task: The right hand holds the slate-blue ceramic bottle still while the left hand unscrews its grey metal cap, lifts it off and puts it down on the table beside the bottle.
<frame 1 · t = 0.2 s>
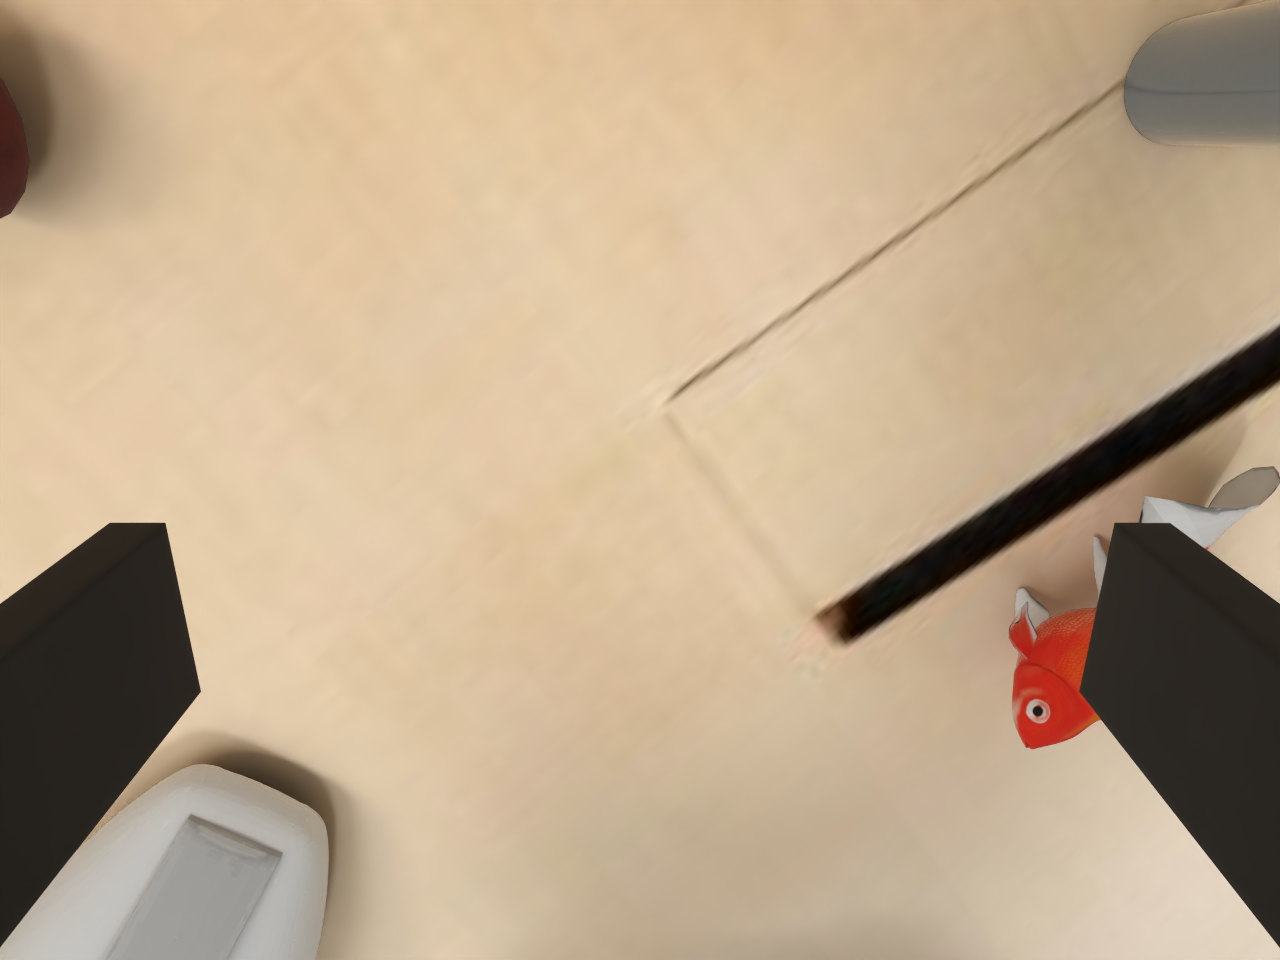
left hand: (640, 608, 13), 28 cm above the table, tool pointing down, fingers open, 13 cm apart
fish: (1099, 561, 44), on the table
projector: (194, 904, 52), on the table
bottle: (1183, 82, 36), on the table
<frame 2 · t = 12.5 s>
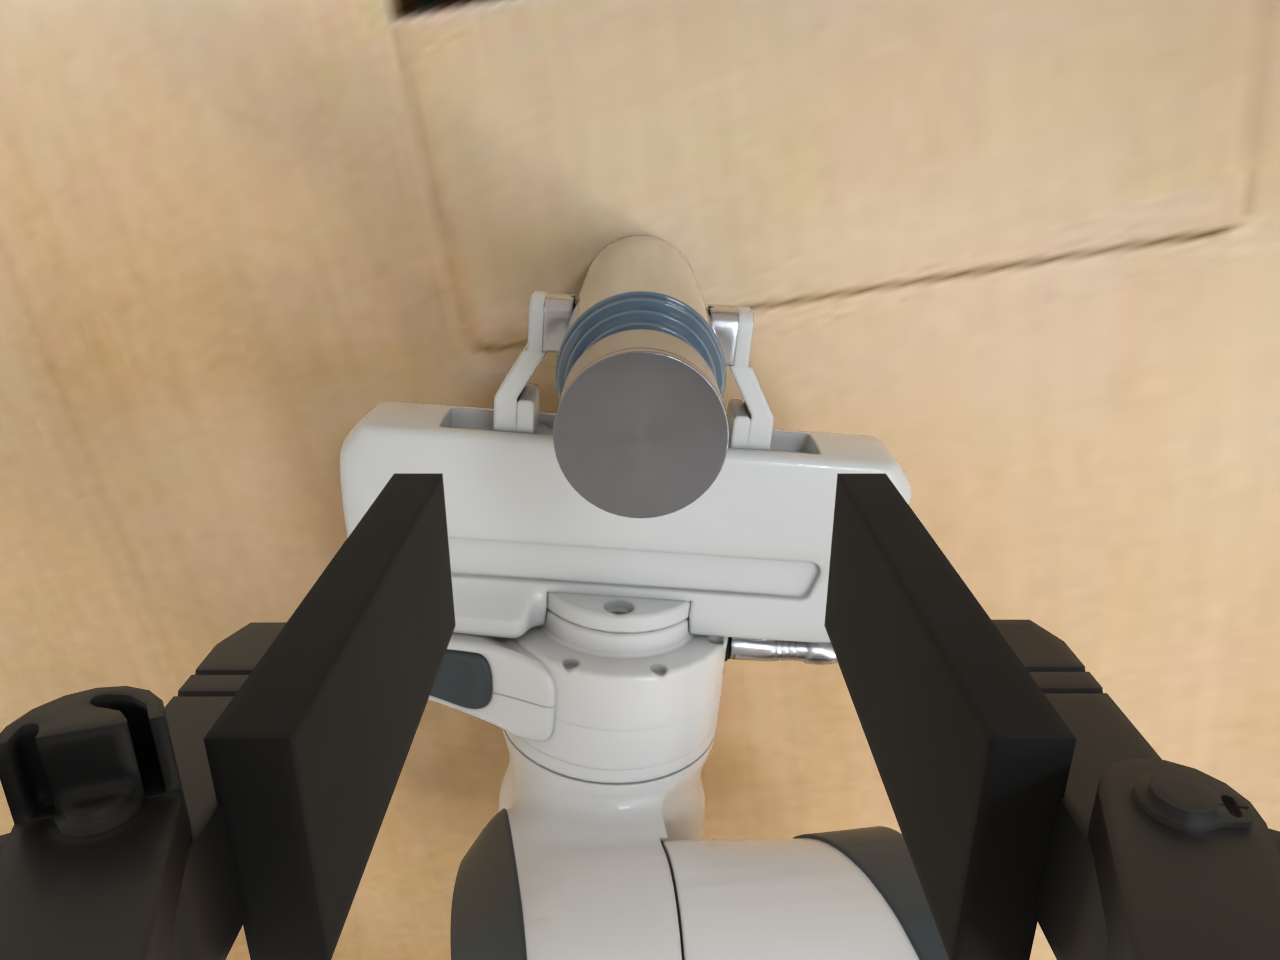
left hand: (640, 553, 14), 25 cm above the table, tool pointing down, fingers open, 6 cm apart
right hand: (641, 300, 31), fingers closed on bottle, 5 cm apart
cap: (641, 433, 20), point 19 cm above the table, screwed on, not yet turned
bottle: (640, 293, 37), on the table, touching right hand
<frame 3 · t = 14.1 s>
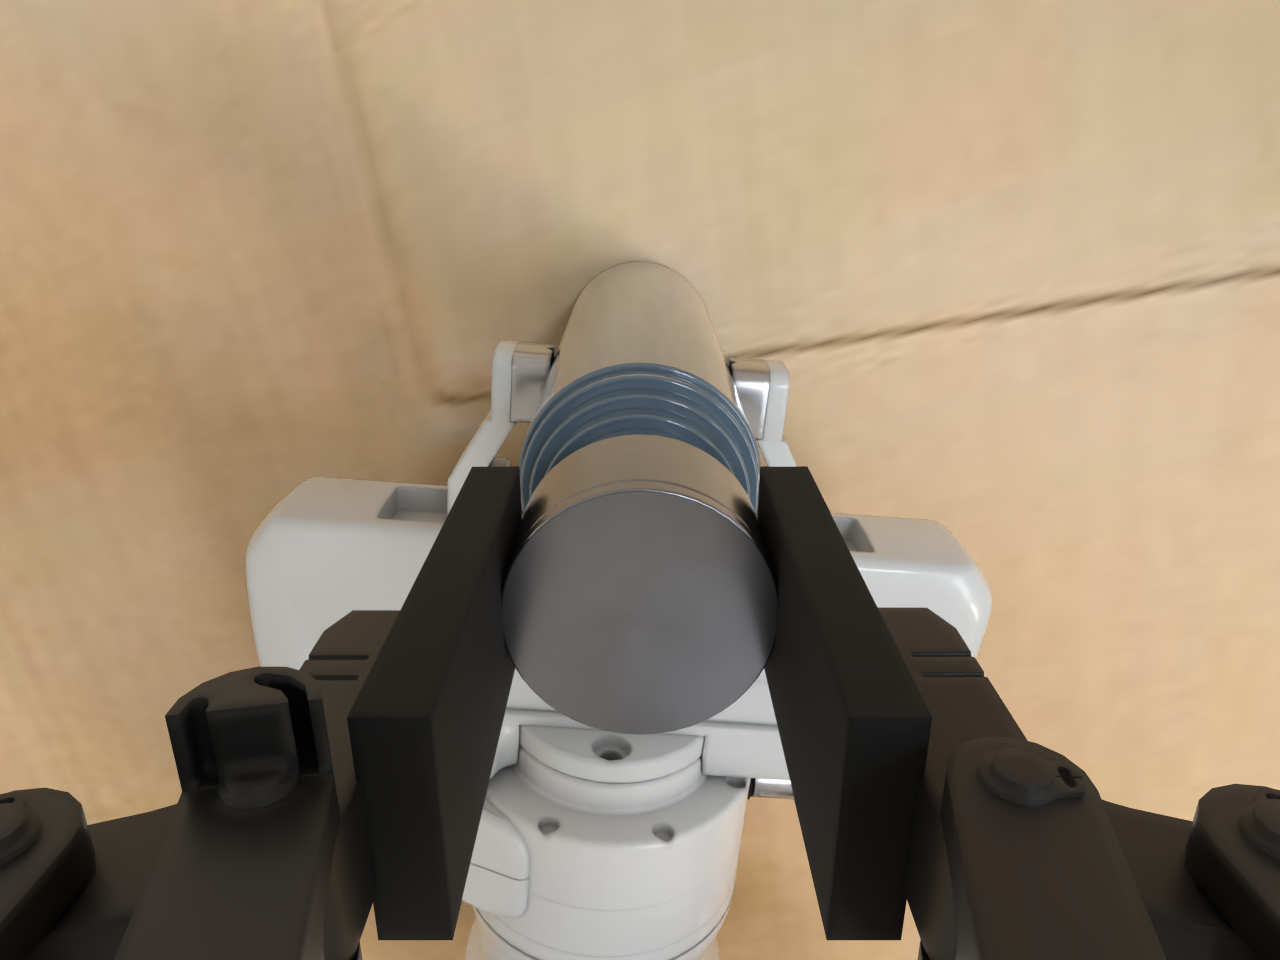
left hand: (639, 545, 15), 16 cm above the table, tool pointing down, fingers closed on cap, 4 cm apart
right hand: (640, 354, 23), fingers closed on bottle, 5 cm apart
cap: (639, 608, 13), point 19 cm above the table, screwed on, not yet turned, touching left hand
bottle: (639, 333, 30), on the table, touching right hand
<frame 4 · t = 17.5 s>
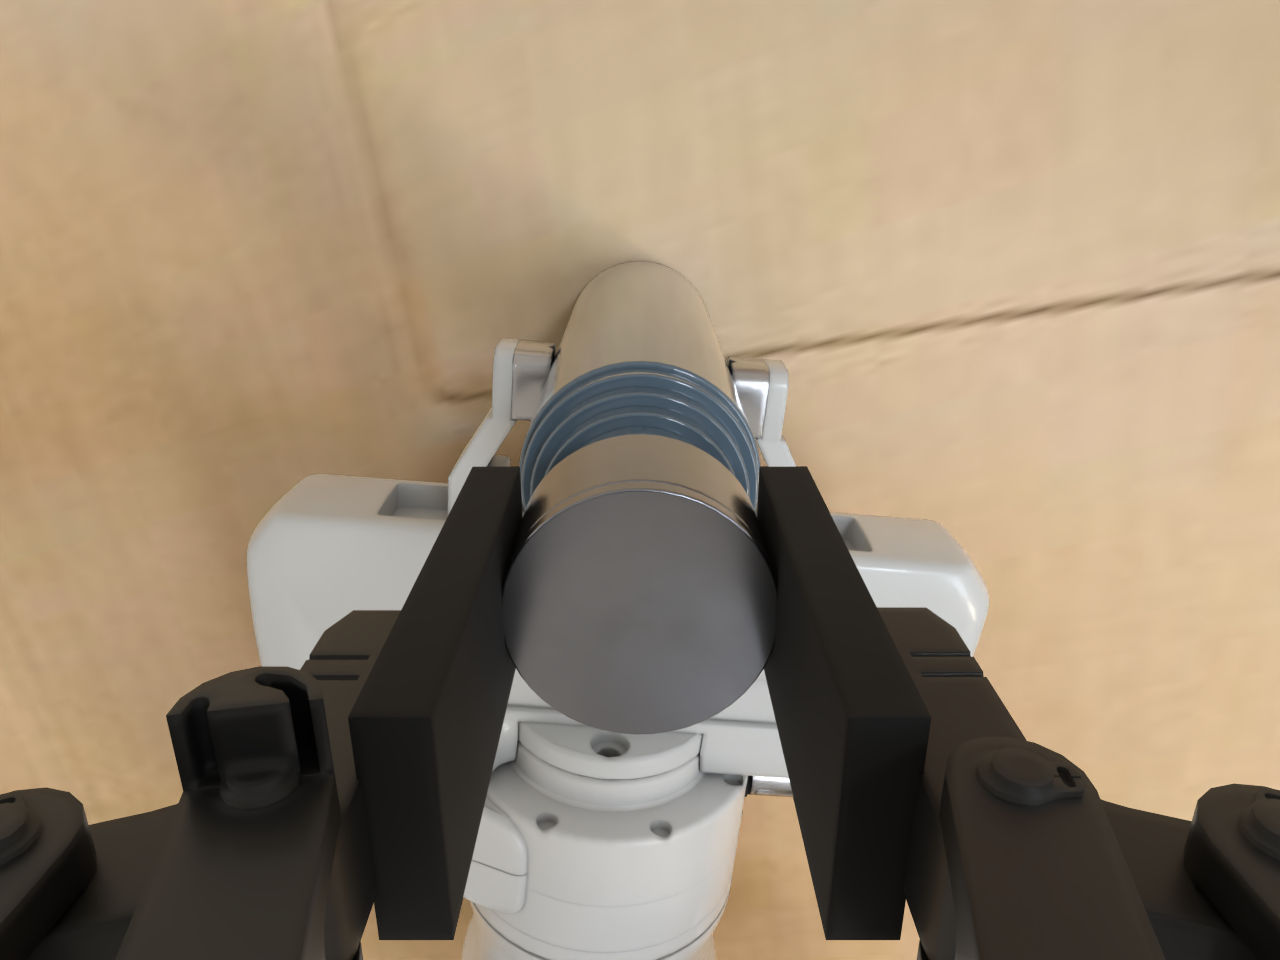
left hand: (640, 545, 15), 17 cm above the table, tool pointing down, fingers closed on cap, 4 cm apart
right hand: (640, 353, 23), fingers closed on bottle, 5 cm apart
cap: (639, 608, 13), point 19 cm above the table, turned 104° so far, risen 0.1 cm, still on its thread, touching left hand
bottle: (639, 332, 30), on the table, touching right hand
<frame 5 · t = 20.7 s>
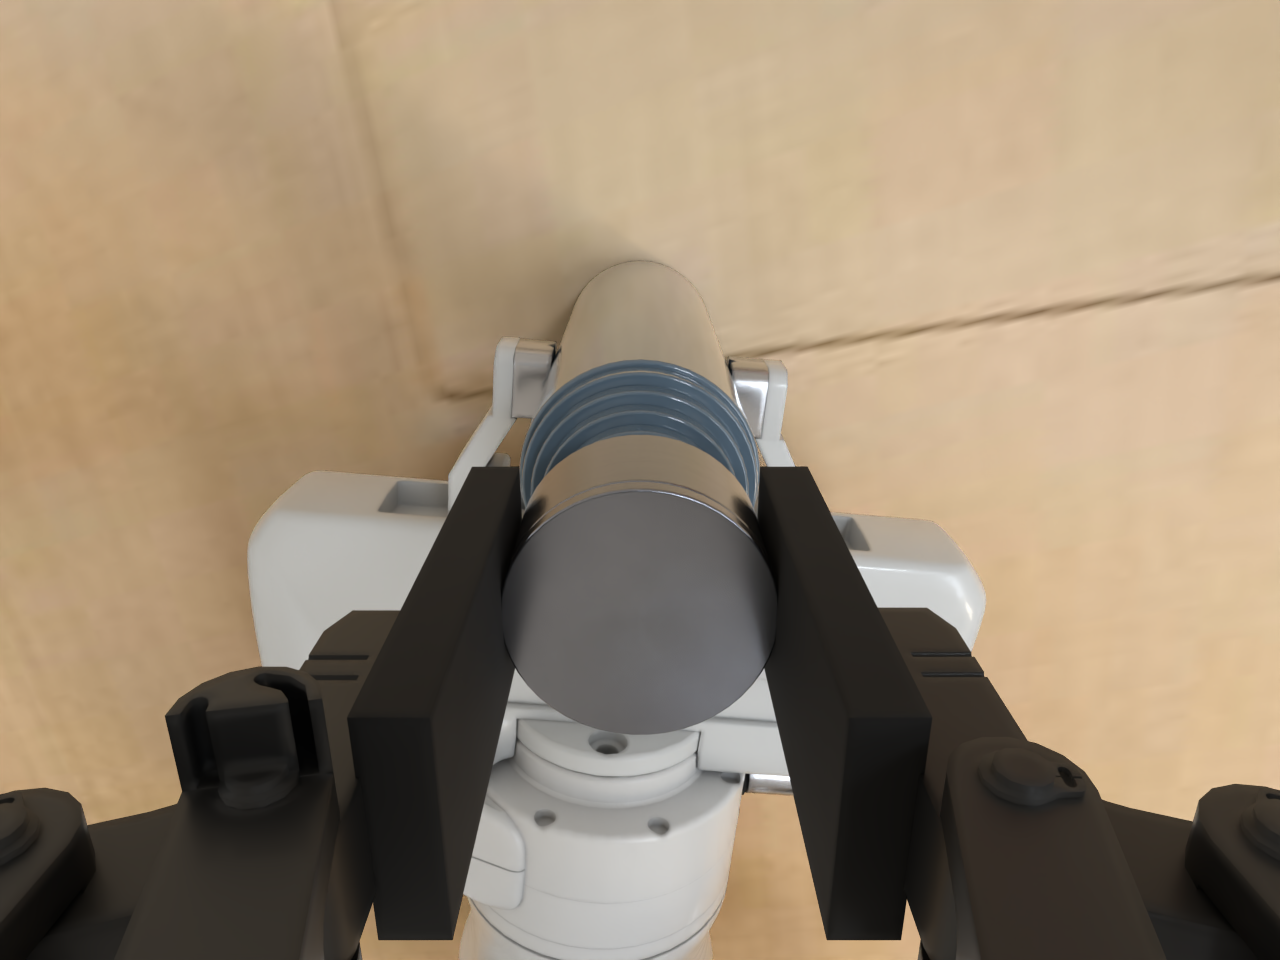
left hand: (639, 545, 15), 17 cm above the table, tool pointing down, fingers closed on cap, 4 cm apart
right hand: (641, 352, 23), fingers closed on bottle, 5 cm apart
cap: (639, 608, 13), point 19 cm above the table, turned 207° so far, risen 0.2 cm, still on its thread, touching left hand
bottle: (639, 331, 30), on the table, touching right hand
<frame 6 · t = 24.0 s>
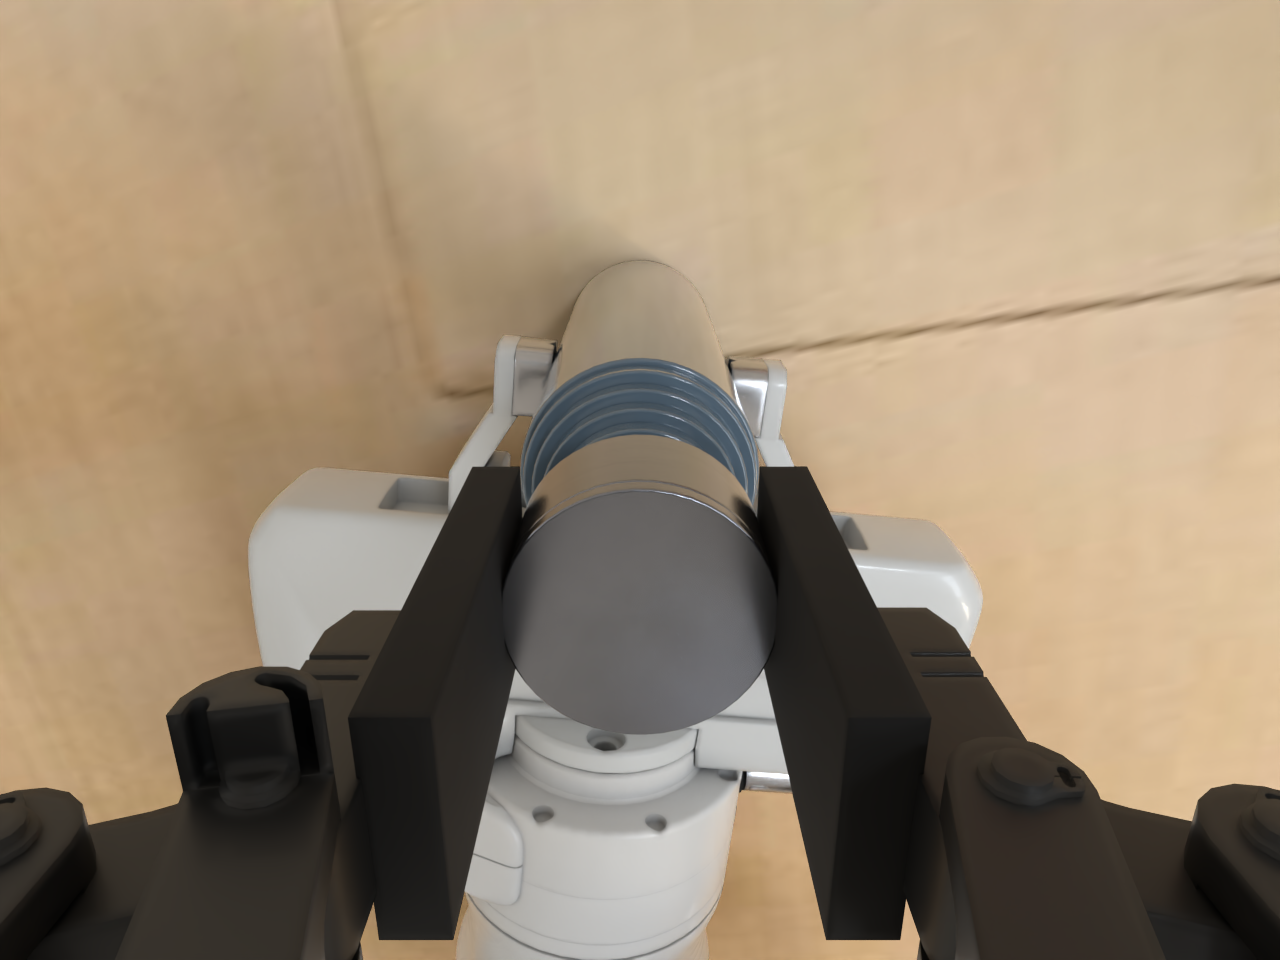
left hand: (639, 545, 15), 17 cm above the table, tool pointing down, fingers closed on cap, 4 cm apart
right hand: (641, 351, 24), fingers closed on bottle, 5 cm apart
cap: (639, 608, 13), point 19 cm above the table, turned 311° so far, risen 0.4 cm, still on its thread, touching left hand
bottle: (639, 330, 30), on the table, touching right hand
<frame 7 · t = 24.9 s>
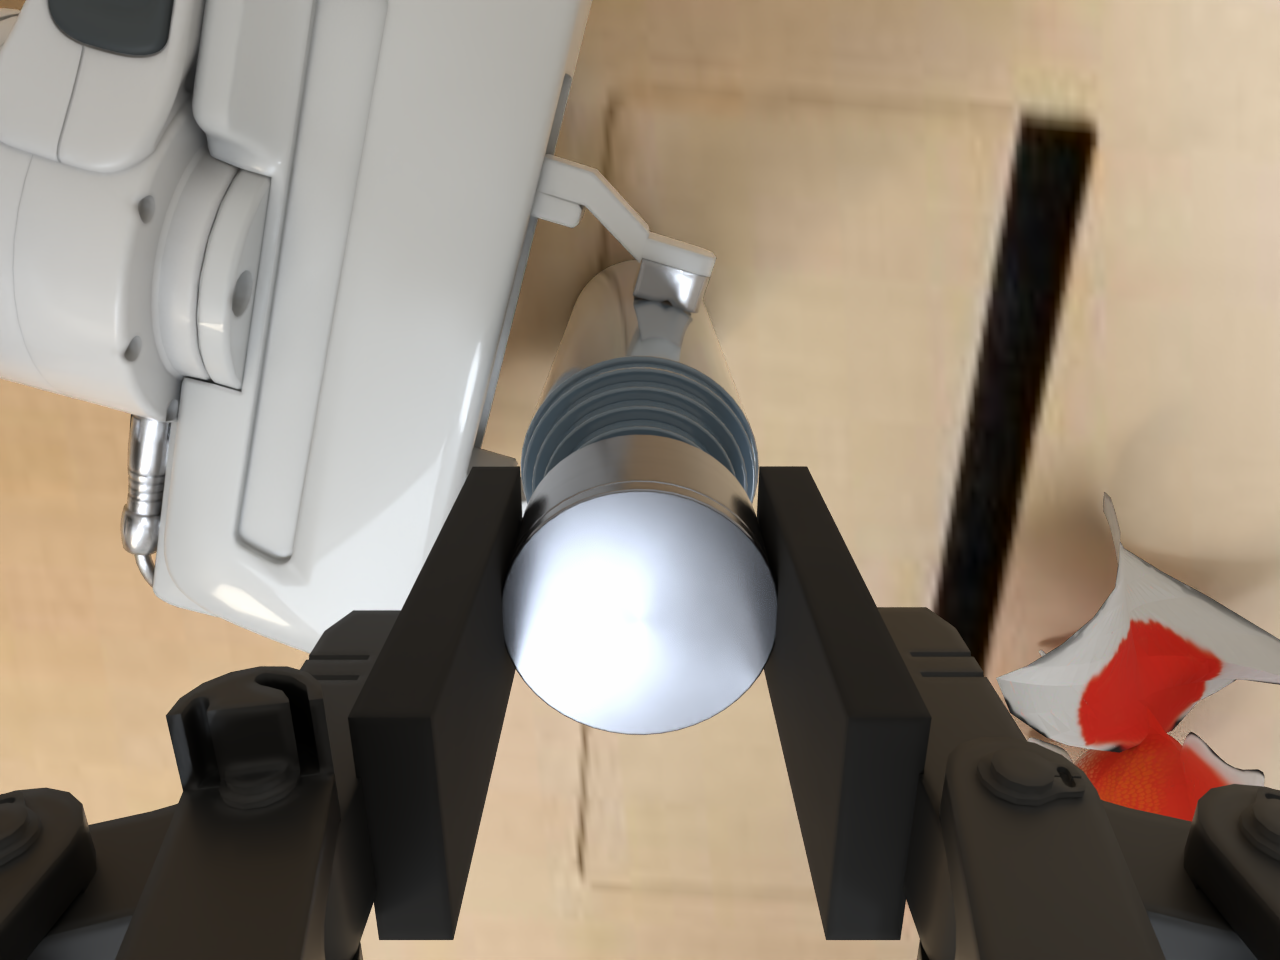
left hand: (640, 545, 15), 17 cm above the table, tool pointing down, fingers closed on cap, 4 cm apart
right hand: (672, 390, 24), fingers closed on bottle, 5 cm apart
fish: (1072, 656, 35), on the table
cap: (639, 608, 13), point 19 cm above the table, off its thread, touching left hand
bottle: (639, 329, 30), on the table, touching right hand
when the left hand's fingers open (1 cm above the table, at t = 30.5 s): cap drops 1 cm, point 2 cm above the table.
when the right hand's fingers open (7 cm above the table, at t = 31.8 s): bottle stays where it is, on the table.
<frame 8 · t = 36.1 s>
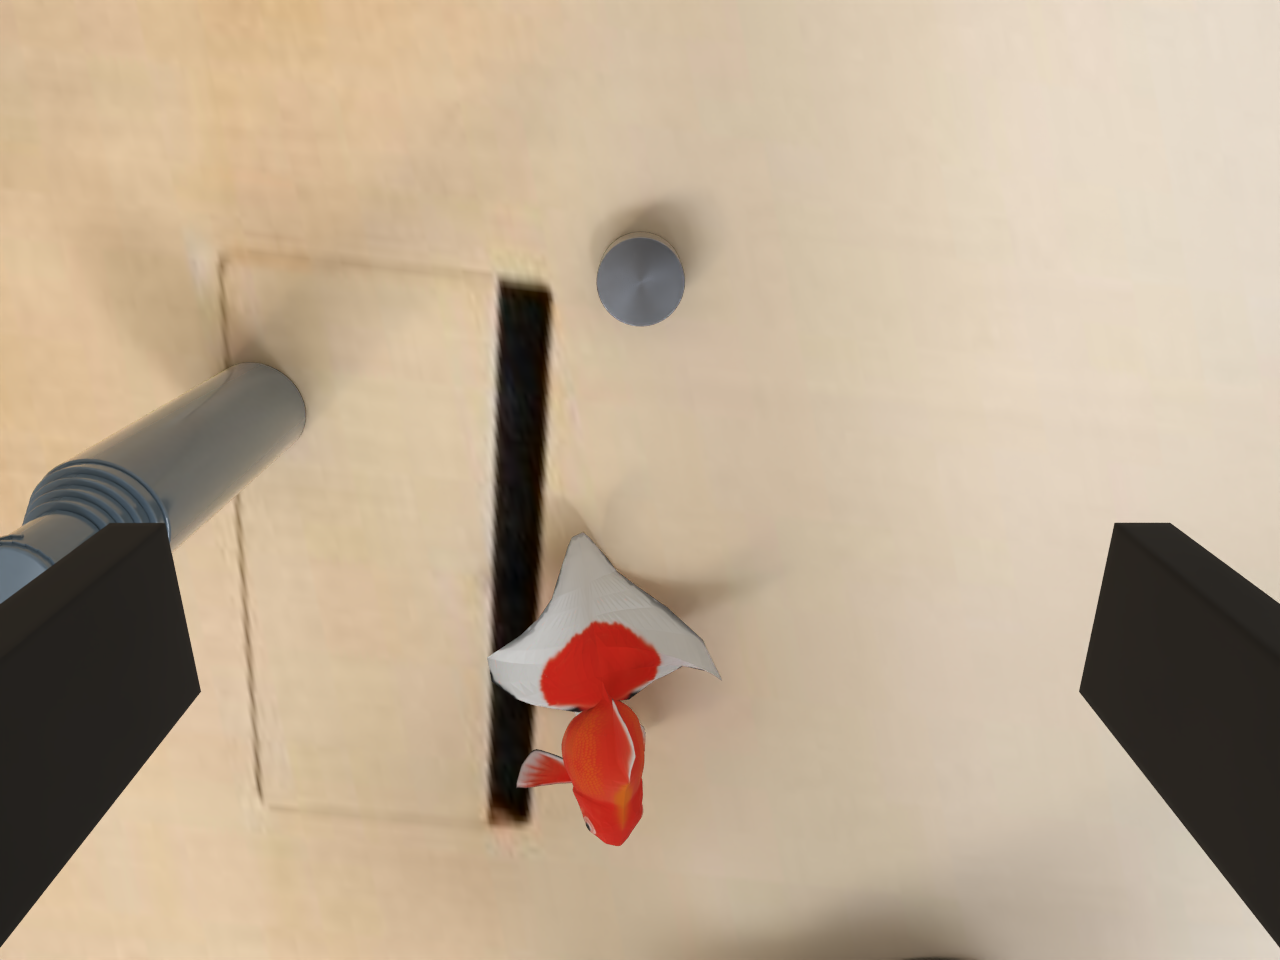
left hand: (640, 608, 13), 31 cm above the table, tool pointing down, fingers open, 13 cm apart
fish: (596, 647, 49), on the table
cap: (640, 281, 40), point 2 cm above the table, off its thread
bottle: (257, 408, 44), on the table
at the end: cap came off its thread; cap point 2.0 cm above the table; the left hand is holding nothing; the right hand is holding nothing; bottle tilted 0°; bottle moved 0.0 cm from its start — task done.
